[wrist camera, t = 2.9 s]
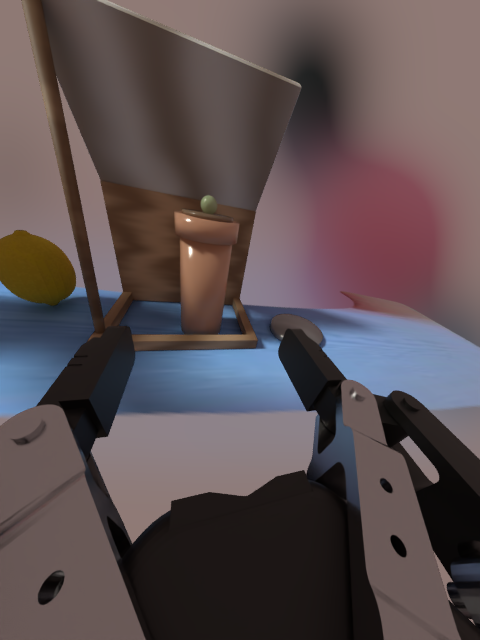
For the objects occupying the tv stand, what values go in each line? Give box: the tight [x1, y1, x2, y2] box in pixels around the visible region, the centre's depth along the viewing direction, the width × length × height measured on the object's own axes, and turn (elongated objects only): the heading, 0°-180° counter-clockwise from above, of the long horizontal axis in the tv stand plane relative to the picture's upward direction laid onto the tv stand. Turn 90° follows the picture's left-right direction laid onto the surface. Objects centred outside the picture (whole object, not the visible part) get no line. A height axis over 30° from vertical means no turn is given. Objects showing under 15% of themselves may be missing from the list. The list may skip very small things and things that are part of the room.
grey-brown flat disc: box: [270, 314, 323, 345], centre depth 24 cm, size 7×7×1 cm
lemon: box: [0, 230, 76, 306], centre depth 19 cm, size 6×6×8 cm
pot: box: [174, 195, 240, 335], centre depth 18 cm, size 6×6×14 cm
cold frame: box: [21, 0, 301, 351], centre depth 17 cm, size 16×11×21 cm
